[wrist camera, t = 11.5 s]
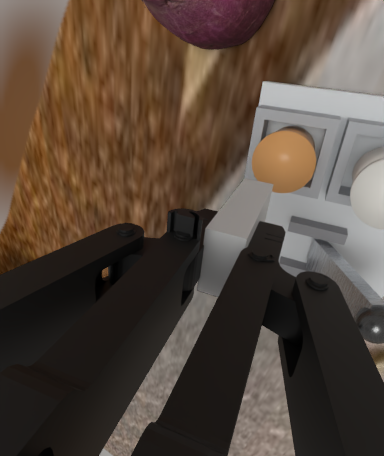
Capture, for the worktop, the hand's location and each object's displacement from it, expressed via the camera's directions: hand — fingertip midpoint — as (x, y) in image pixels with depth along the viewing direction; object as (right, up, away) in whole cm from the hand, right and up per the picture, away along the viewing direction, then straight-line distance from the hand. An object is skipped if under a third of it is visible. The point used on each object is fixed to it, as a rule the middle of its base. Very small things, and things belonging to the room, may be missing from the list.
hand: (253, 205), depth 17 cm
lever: (+8, -4, +14) cm, 17 cm away
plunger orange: (+5, +6, +11) cm, 14 cm away
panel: (+10, +2, +14) cm, 17 cm away
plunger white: (+11, +3, +7) cm, 13 cm away
